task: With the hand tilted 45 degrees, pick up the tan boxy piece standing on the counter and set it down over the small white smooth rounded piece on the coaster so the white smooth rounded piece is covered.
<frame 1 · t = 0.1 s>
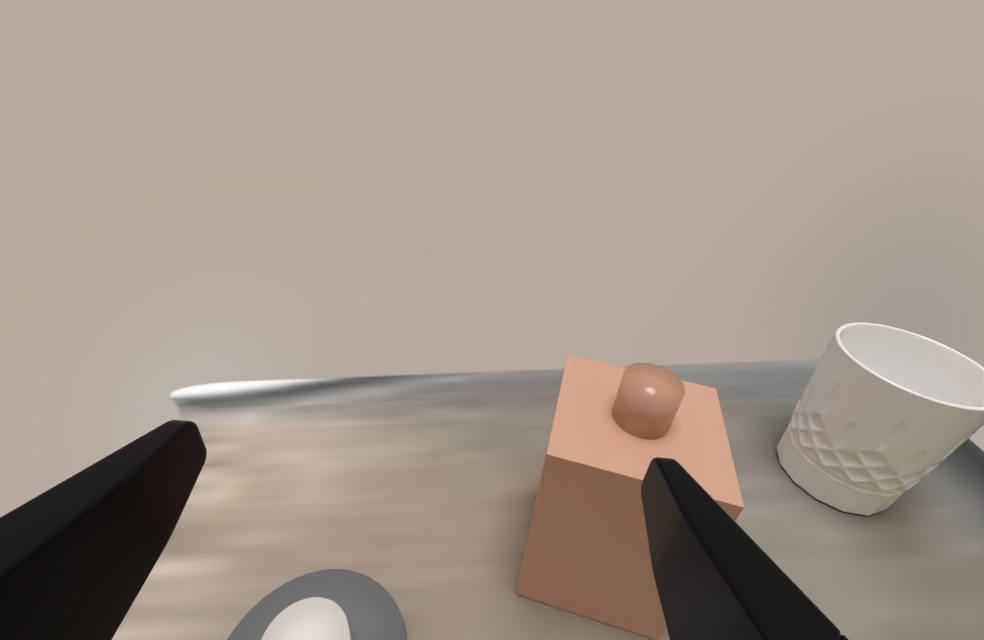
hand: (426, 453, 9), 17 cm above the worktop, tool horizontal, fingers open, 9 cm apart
white cup: (827, 474, 31), on the worktop
tan boxy piece: (589, 554, 24), on the worktop
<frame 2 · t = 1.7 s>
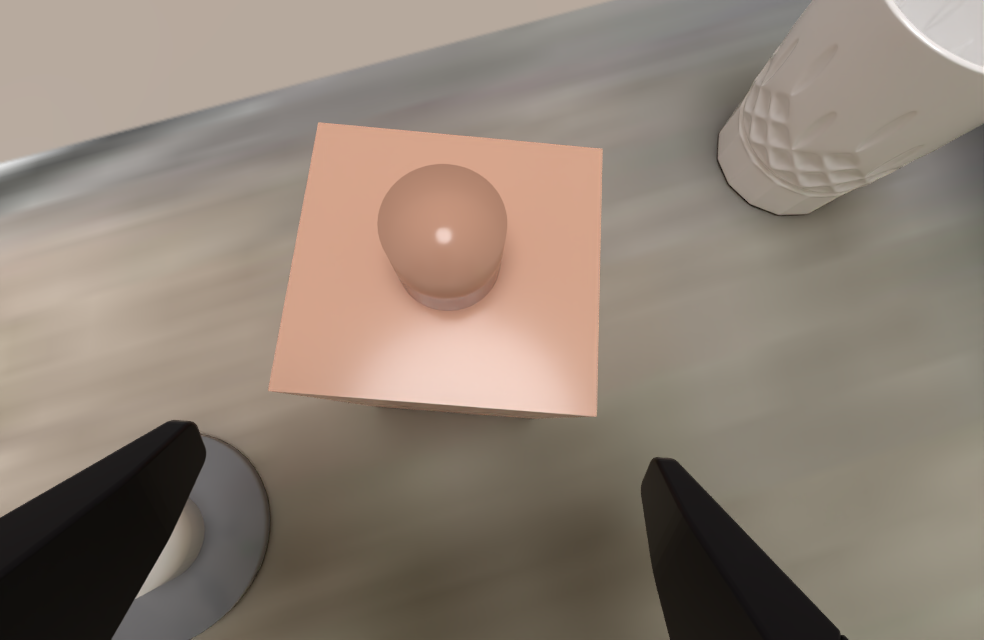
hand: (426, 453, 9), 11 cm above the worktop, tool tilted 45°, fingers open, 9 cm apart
white cup: (775, 160, 24), on the worktop
tan boxy piece: (461, 341, 20), on the worktop
white smooth rounded piece: (160, 536, 18), resting on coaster
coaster: (170, 533, 18), on the worktop
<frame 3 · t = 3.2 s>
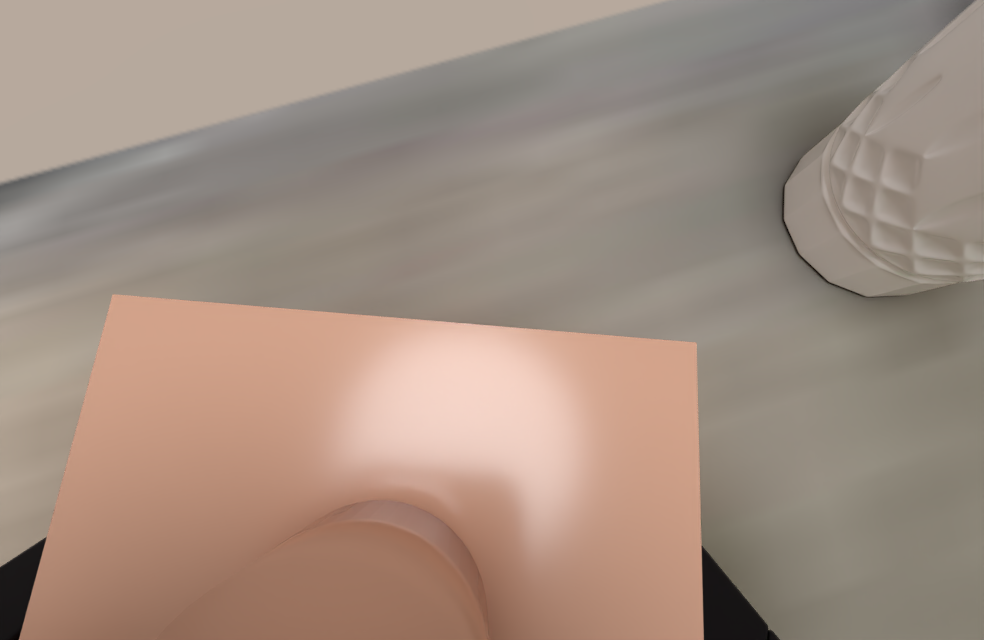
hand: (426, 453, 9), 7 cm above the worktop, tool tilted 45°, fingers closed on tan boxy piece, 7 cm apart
white cup: (857, 220, 18), on the worktop
tan boxy piece: (442, 480, 15), on the worktop, touching gripper
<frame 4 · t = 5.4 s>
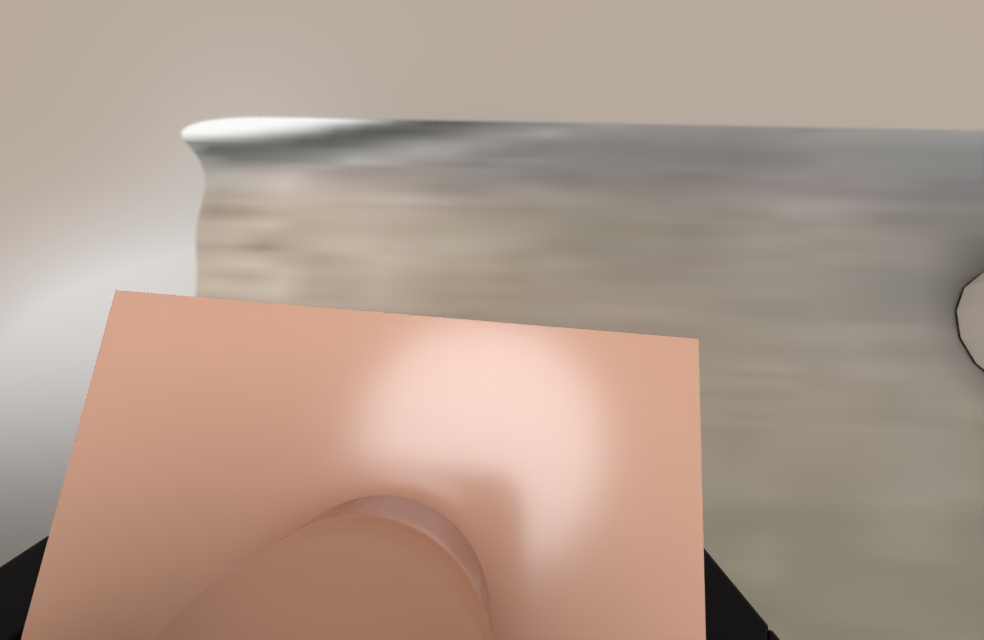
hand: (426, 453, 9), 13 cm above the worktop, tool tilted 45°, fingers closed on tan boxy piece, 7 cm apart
tan boxy piece: (443, 478, 15), point 7 cm above the worktop, touching gripper
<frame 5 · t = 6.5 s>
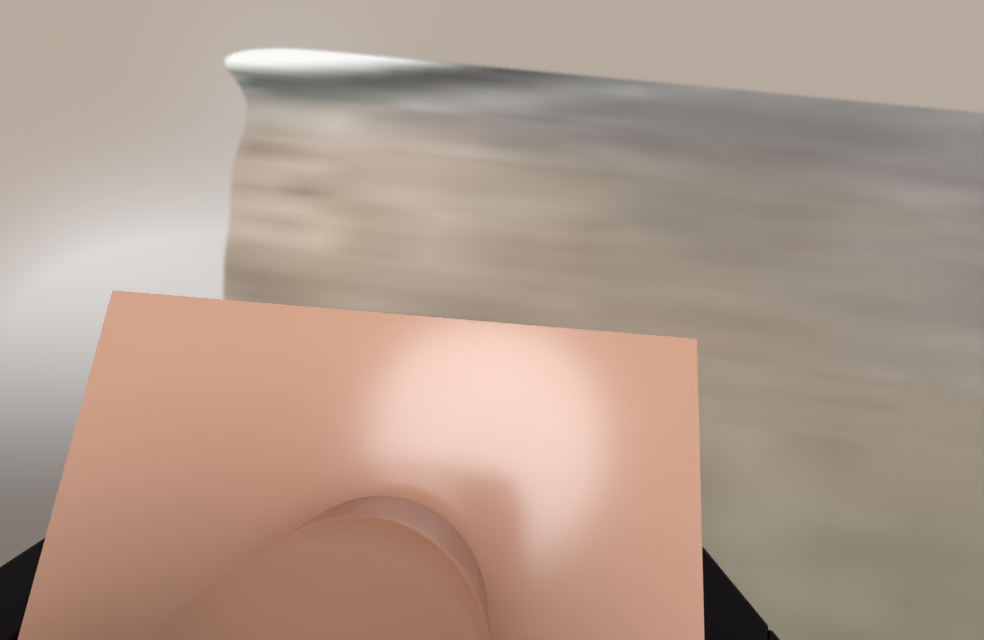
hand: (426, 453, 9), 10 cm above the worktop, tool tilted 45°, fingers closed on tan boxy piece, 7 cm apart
tan boxy piece: (442, 478, 15), point 3 cm above the worktop, touching gripper
when the fingers open (8 cm above the worktop, at t = 7.6 s): tan boxy piece stays where it is, resting on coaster.
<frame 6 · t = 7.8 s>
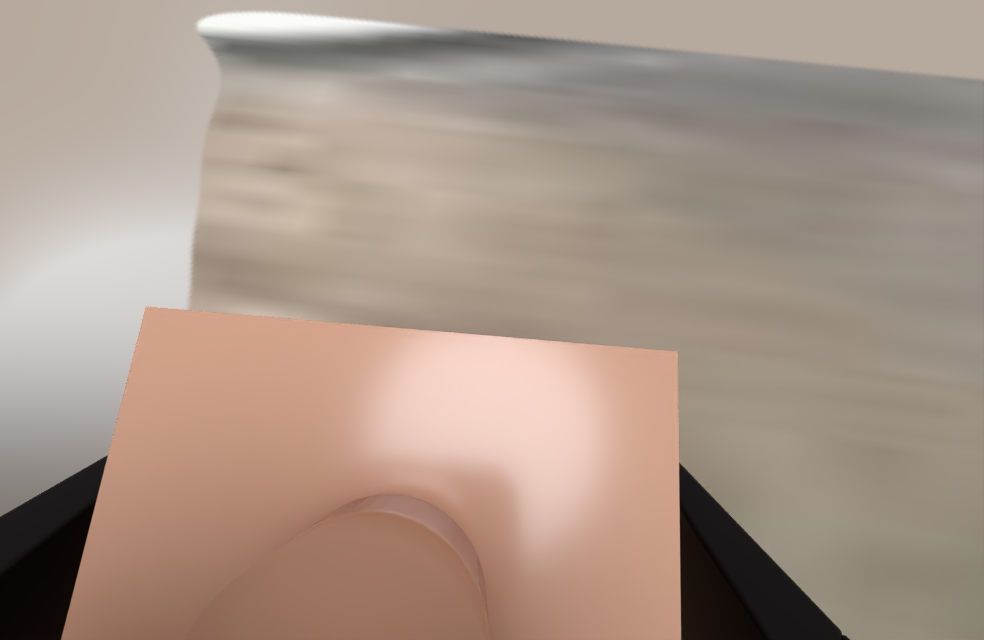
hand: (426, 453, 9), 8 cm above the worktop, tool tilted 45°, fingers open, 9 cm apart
tan boxy piece: (443, 478, 15), point 1 cm above the worktop, touching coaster
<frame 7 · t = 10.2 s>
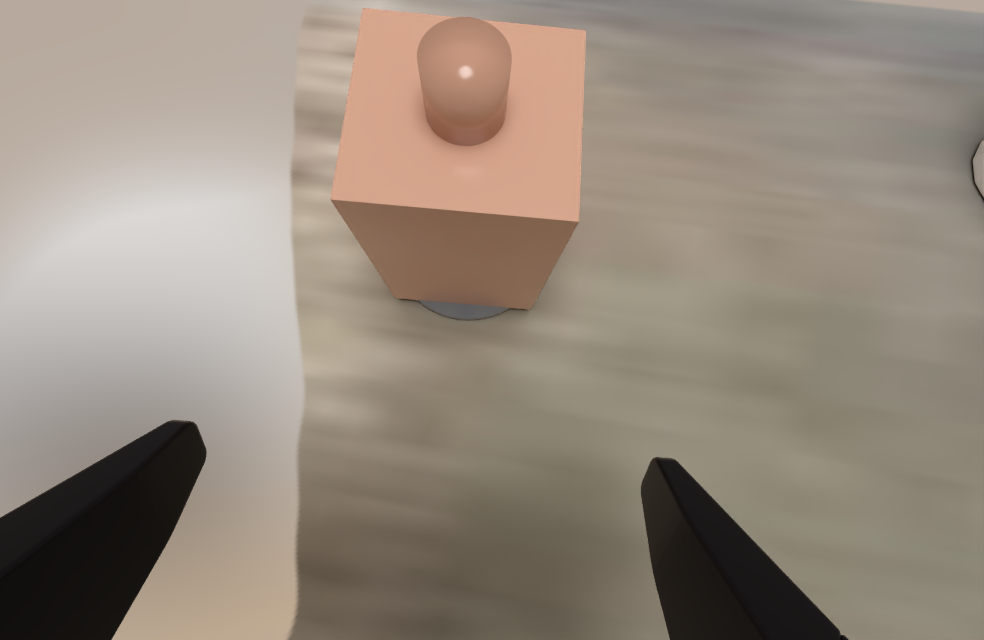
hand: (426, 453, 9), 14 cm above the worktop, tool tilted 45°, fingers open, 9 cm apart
tan boxy piece: (468, 244, 23), point 1 cm above the worktop, touching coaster
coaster: (469, 248, 24), on the worktop
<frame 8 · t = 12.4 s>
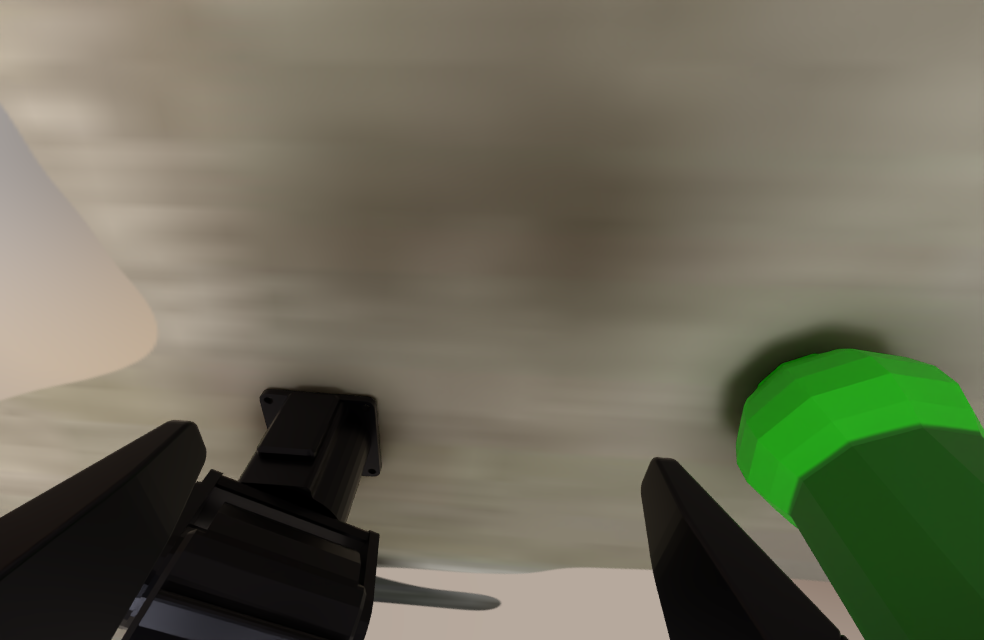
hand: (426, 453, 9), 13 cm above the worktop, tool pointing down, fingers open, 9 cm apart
plastic bottle: (801, 388, 25), on the worktop
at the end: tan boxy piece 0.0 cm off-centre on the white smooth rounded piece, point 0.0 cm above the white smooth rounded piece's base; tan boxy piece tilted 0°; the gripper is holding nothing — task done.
